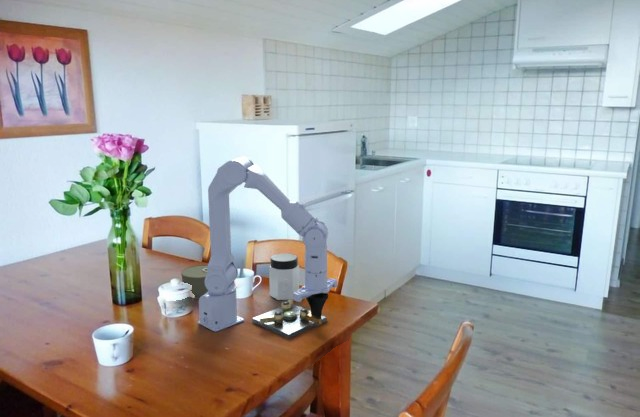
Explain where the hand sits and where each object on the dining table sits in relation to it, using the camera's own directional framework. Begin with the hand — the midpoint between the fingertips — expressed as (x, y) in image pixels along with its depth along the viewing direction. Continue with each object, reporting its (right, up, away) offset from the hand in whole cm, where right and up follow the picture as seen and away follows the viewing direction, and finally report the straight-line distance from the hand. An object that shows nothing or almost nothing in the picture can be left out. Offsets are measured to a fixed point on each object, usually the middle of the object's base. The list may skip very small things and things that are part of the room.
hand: (316, 319), depth 133 cm
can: (-35, +3, +24) cm, 43 cm away
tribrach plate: (-7, -1, +3) cm, 8 cm away
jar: (-10, +2, +22) cm, 24 cm away
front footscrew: (-1, 0, 0) cm, 2 cm away
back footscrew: (-8, +1, +8) cm, 11 cm away
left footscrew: (-12, 0, -1) cm, 12 cm away
